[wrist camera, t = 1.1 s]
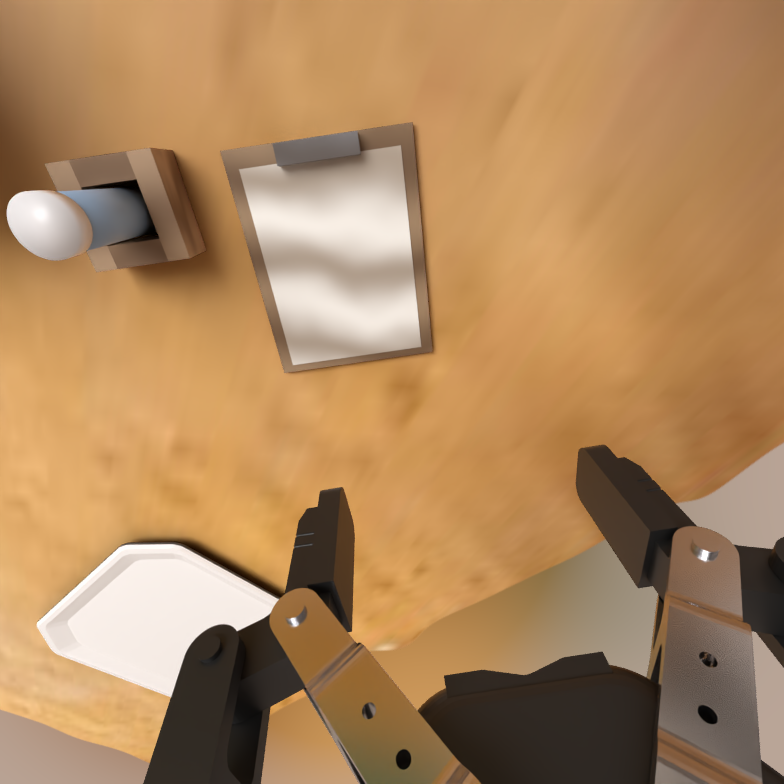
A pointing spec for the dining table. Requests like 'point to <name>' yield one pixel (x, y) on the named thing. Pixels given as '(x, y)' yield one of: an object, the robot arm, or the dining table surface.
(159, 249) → the pen block
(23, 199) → the marker
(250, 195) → the clipboard
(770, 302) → the dining table surface
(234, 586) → the plate
